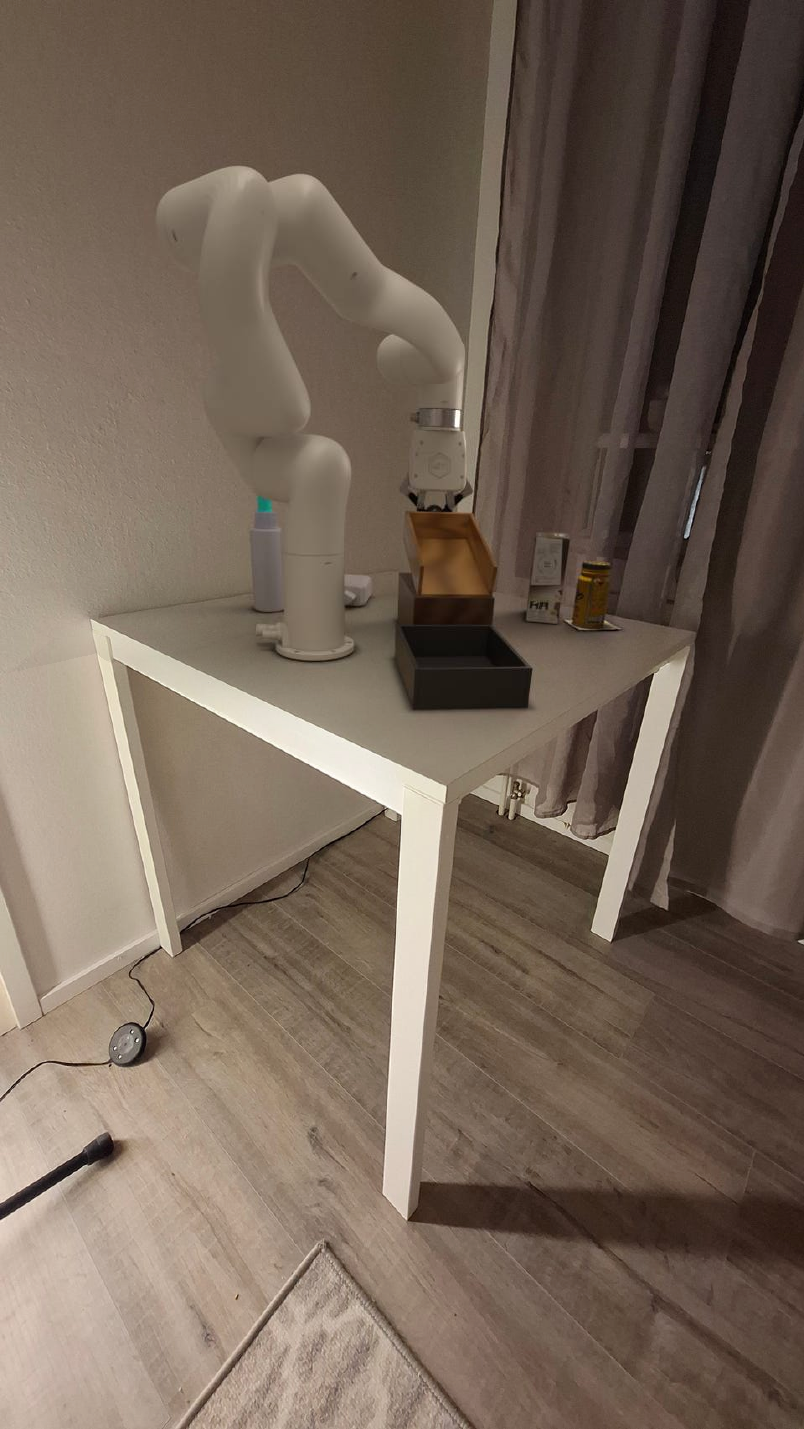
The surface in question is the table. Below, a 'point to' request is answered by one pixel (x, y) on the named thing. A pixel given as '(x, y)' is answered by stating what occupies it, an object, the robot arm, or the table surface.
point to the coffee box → (547, 577)
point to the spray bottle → (266, 559)
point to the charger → (357, 590)
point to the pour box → (448, 554)
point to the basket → (460, 667)
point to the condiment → (592, 597)
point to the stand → (440, 607)
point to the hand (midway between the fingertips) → (433, 529)
